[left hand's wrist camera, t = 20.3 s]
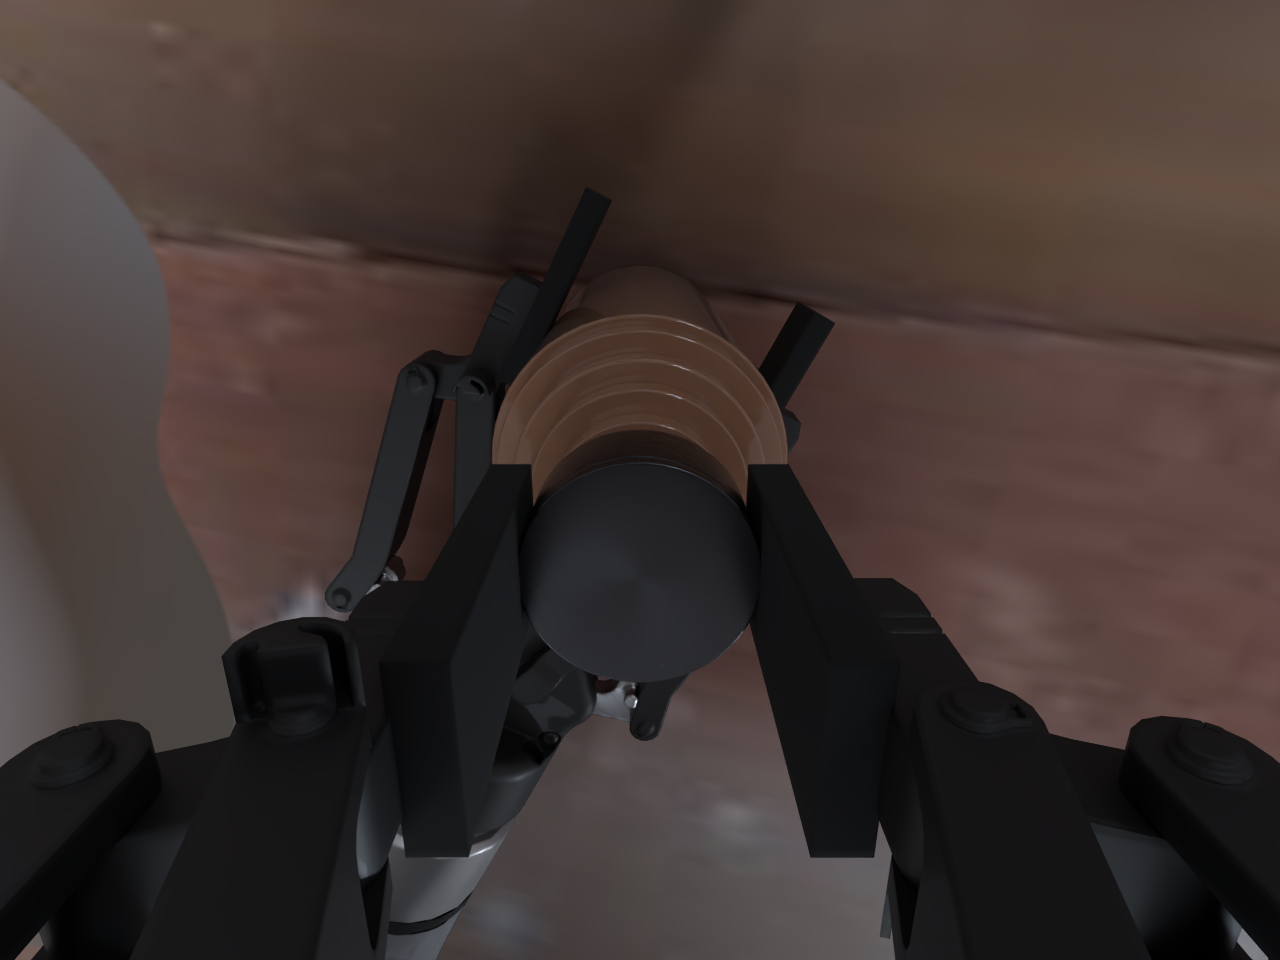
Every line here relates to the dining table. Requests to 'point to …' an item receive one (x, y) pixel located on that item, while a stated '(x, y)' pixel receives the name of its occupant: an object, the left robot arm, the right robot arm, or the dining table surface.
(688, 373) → the bottle
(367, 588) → the right robot arm
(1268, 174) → the dining table surface
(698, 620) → the cap
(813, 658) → the left robot arm
